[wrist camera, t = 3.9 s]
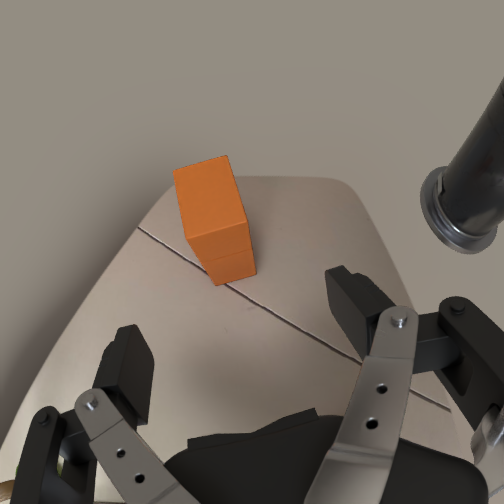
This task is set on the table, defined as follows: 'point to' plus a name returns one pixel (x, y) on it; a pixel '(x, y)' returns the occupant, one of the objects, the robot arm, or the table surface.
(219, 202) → the orange lidded gift box
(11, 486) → the snail figurine
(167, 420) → the table surface
